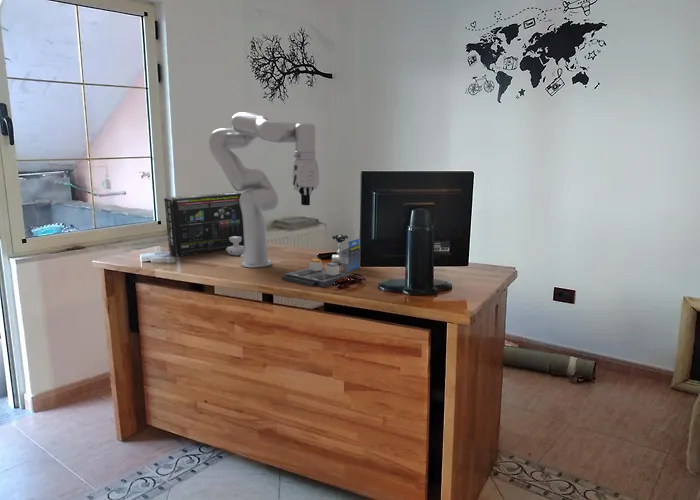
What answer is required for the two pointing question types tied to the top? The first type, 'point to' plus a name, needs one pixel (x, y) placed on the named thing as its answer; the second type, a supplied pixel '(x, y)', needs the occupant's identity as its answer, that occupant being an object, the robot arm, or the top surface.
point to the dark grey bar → (298, 281)
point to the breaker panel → (316, 276)
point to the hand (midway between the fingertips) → (305, 204)
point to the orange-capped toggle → (315, 264)
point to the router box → (203, 222)
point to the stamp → (235, 246)
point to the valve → (338, 257)
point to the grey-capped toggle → (332, 269)
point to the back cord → (342, 272)
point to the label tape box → (350, 257)
